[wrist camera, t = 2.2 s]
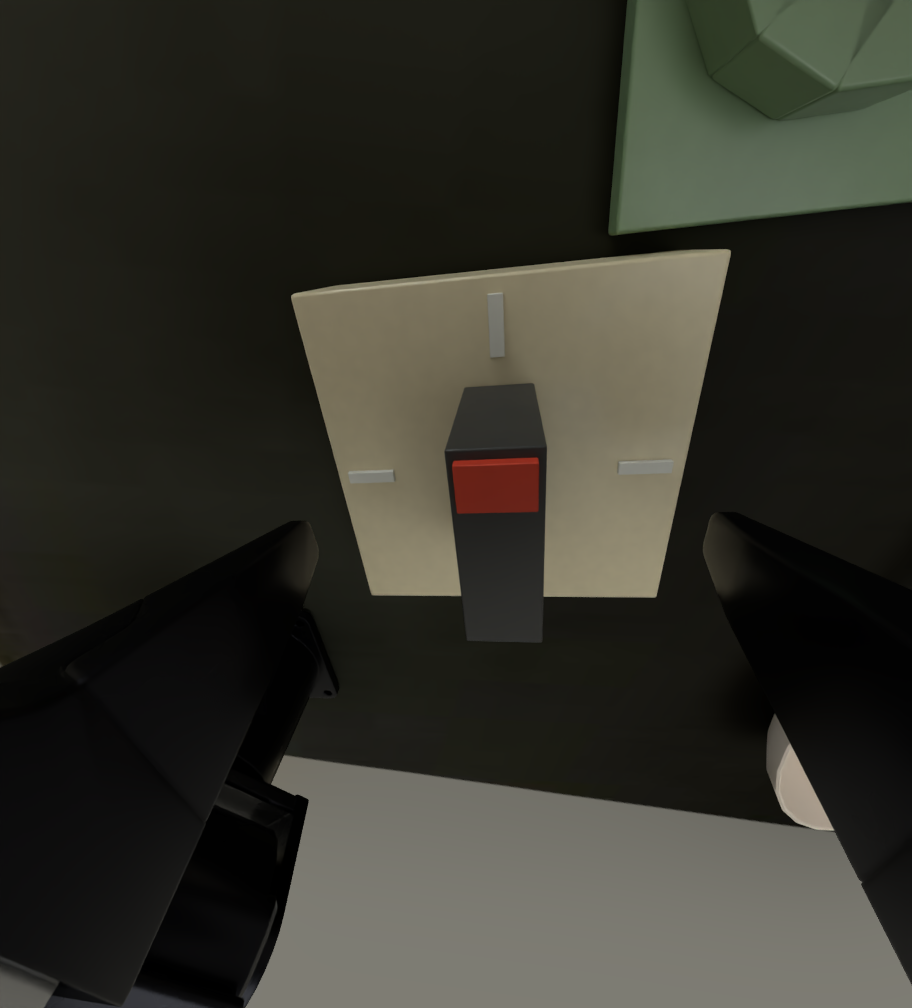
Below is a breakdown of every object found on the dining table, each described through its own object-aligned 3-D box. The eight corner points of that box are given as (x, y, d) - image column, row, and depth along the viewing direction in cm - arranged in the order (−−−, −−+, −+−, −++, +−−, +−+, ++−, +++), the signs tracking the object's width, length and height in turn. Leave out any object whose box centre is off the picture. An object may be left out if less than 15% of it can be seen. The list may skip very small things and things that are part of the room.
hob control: (633, 544, 16) (658, 602, 14) (390, 546, 18) (369, 599, 15) (682, 249, 11) (737, 248, 8) (332, 285, 12) (285, 294, 10)
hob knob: (533, 540, 13) (543, 652, 9) (476, 541, 13) (465, 649, 10) (534, 382, 10) (548, 451, 7) (463, 387, 11) (442, 456, 7)
